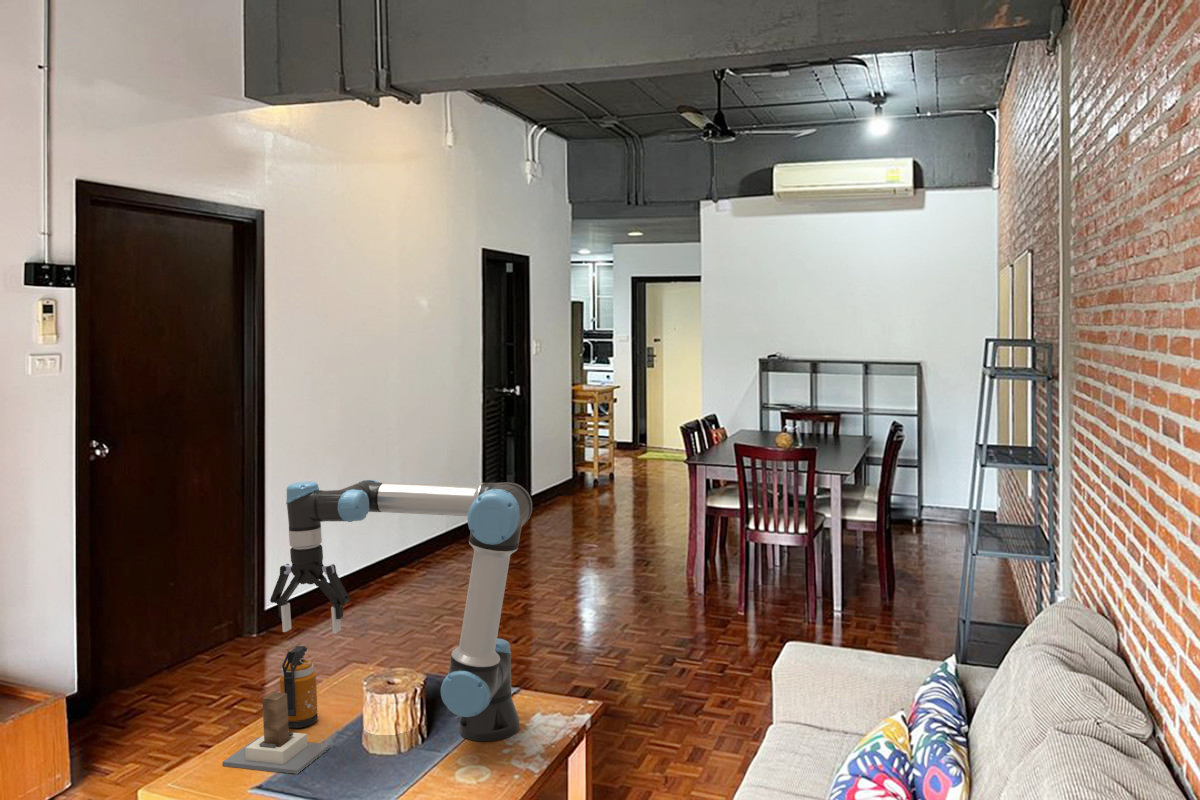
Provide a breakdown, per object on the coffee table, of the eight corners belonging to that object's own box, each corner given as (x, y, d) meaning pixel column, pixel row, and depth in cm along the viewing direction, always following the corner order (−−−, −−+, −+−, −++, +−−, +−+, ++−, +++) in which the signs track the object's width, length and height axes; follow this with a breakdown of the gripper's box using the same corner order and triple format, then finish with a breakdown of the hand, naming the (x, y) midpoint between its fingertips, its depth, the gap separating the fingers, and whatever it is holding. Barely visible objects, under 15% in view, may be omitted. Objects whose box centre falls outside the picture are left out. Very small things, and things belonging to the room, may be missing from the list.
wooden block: (289, 750, 226) (287, 693, 225) (279, 757, 222) (277, 699, 221) (275, 748, 227) (272, 692, 226) (265, 755, 223) (262, 698, 222)
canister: (323, 716, 249) (320, 642, 247) (306, 733, 238) (302, 656, 237) (290, 715, 250) (287, 642, 248) (272, 733, 239) (268, 656, 237)
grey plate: (330, 748, 229) (329, 730, 229) (297, 774, 216) (296, 755, 215) (259, 740, 234) (258, 722, 234) (222, 765, 221) (221, 746, 220)
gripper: (360, 542, 229) (365, 627, 231) (269, 542, 235) (275, 625, 237) (344, 549, 222) (350, 637, 224) (251, 548, 228) (257, 634, 229)
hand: (311, 631), depth 230 cm, fingers open, 13 cm apart
